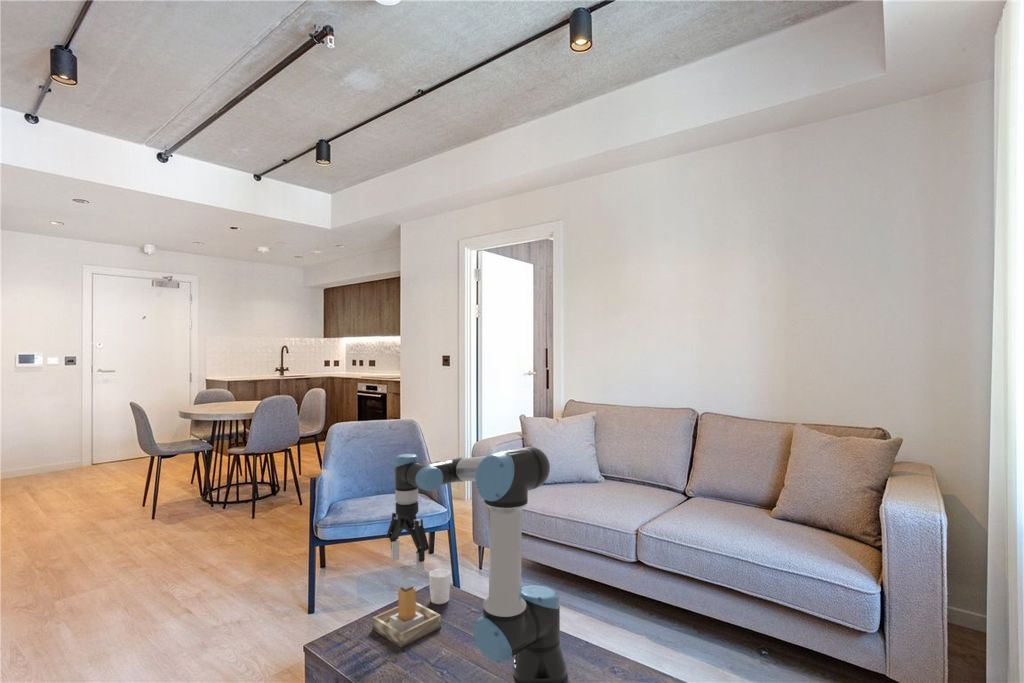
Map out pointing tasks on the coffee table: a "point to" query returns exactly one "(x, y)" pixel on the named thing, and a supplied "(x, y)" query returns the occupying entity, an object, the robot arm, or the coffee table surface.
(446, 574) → the white cup
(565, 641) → the coffee table surface
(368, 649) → the coffee table surface
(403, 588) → the connector
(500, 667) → the coffee table surface
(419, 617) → the socket
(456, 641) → the coffee table surface
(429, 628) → the box
